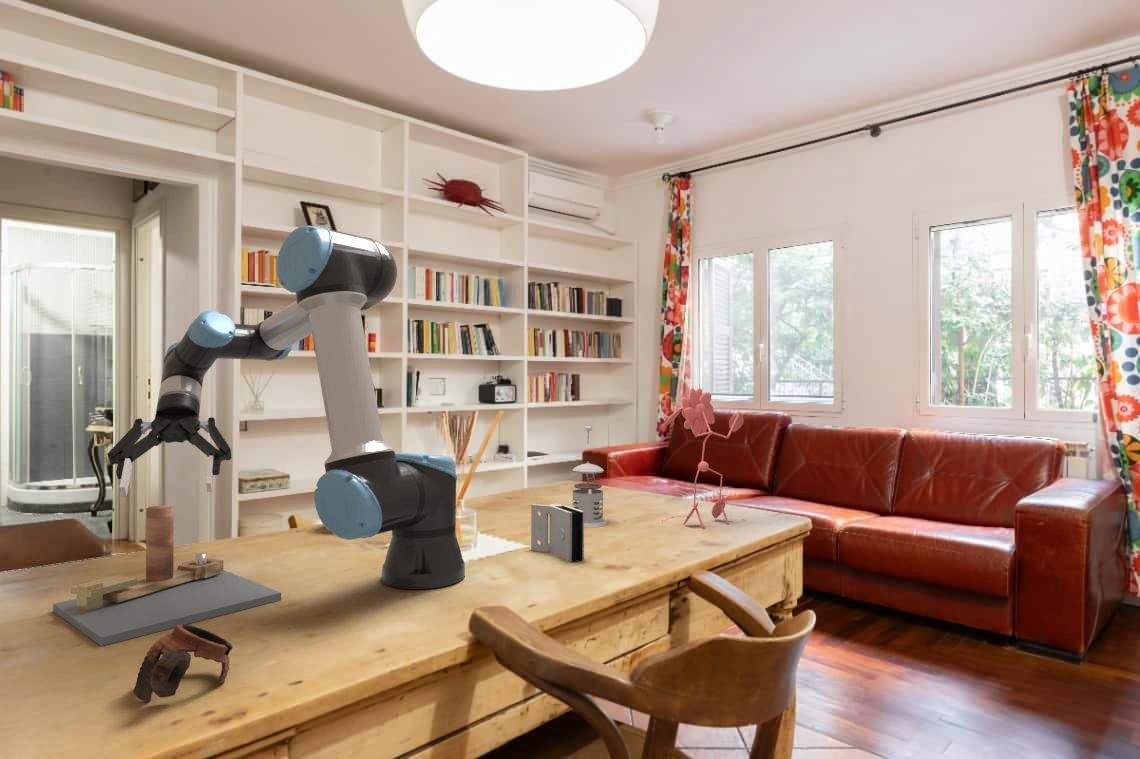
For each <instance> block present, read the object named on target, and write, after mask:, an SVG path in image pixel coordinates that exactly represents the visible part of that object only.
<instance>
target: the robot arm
mask: <svg viewBox="0 0 1140 759" xmlns="http://www.w3.org/2000/svg"><path fill="white" fill-rule="evenodd" d="M276 274H277V280H278V282H279V283H280V285H281V286H282V287H283V288H284V289H285V290H286V291H288V292H290V293H293V294H294V293H295V296H296V297H295V298H296V300H295V301H293V302H292V303H289V305H287V306H284V307H283V308H282V309H280V310H278V311H277V312H275V313H274V314H272V315H271V316H270V315H269V317H268V318H266V319H264V320H263V321H260V322H259V323H257V324H245V323H244V324H243V323H234V321H233V320H232V319H231V318H230V317H229V316H227V314H224V313H220V312H218V311H217V310H206V311H203V312H201V313H200V314H199V315H198V316H197V317H196V318H195V319H194V320H193V322H191V323H190V325H189V326H188V329H187V331H185V334H184V335H183V336H182V339H181V340H179V341H177V342H175V343H173V344H171V345H170V346H168V348H167V350H166V354H165V356H164V358H163V370H162V375H161V381H160V388H159V392H158V398H157V399H158V400H157V405H156V411H155V416H154V419H153V420H152V421H143V419H142V418H140V417H139V418H136V419H135V420H134V422H133V426H132V427H131V429H129V430H128V431H127V433H125V435H123V437H122V438H120V440H119V441H118V442H117V443H116V444H115V445H114V446H113V447H112V448H111V449H110V450H109V451H108V453H107V458H108V462H109V464H110V465H112V466H113V465H116V470H115V473H116V477H117V480H120V481H119V482H120V484H119V491H120V494H121V497H127V496H128V492H129V486H130V482H131V476H132V470H133V465H132V463H133V462H134V461H136V460H138V458H140V457H141V456H143V455H144V454H146V453H147V452H148V451H150V450H151V449H152V448H154V447H158V446H159V445H161V444H162V443H163V442H165V444H169V443H185V441H187V442H188V443H189V444H191V445H192V446H195V447H196V448H197V449H198V450H199V451H201V452H202V453H203V454H204V455H205V456H207V457H208V460H207V470H206V471H207V472H206V482H205V485H206V491H207V493H211V492H213V481H214V476H219V475H220V473H221V465H222V464H221V463H222V462H224V461H230V460H232V450H231V449H232V448H231V447H230V446H229V444H228V443H227V441H226V440H225V438H224V437H223V434H222V433H221V432H220V431H219V429H218V427H217V426H216V419H215V418H214V417H212V416H211V417H208V419H207V420H202V421H200V410H201V400H202V391H203V383H204V377H205V376H206V373H207V372H208V371H209V369H210V368H211V367H212V366H213V365H214V363H215V362H216V361H217V360H218V359H223V360H224V359H225V360H227V359H228V360H231V359H232V360H256V361H257V360H258V361H261V360H263V361H269V362H270V361H278V360H280V361H281V360H283V359H286V358H287V357H288V356H289V354H290V353H291V351H292V350H293V345H295V344H296V343H298V342H300V341H302V340H304V339H306V338H308V337H309V336H311V335H312V342H313V347H314V348H313V349H314V353H315V354H314V355H315V359H316V360H315V361H316V365H317V371H318V378H319V381H320V382H319V383H320V387H321V394H322V400H323V406H324V412H325V418H326V423H327V430H328V431H327V432H328V436H329V441H330V447H331V448H330V449H331V451H330V455H329V456H328V457H327V459H326V460H325V461H324V470H325V473H324V474H322V475H321V476H320V477H319V478H318V480H317V483H316V487H317V488H315V489H314V495H313V498H314V499H313V500H314V506H315V510H316V513H317V515H318V518H319V519H320V522H321V523H322V524H323V526H324V528H326V529H327V531H330V532H331V534H332V535H334V536H335V537H337V538H339V539H343V540H351V541H352V540H357V539H367V538H372V537H374V536H376V535H380V534H383V533H387V532H388V533H389V532H391V538H390V542H389V546H388V549H387V552H386V556H385V560H384V563H383V564H382V567H381V581H382V583H383V584H384V585H386V586H388V587H392V588H396V589H397V588H398V589H404V590H405V589H407V590H428V589H435V588H442V587H448V586H452V585H454V584H456V583H458V582H460V581H462V580H463V579H465V577H466V563H465V560H464V559H463V555H462V554H463V553H462V552H461V548H460V544H459V542H458V538H457V535H456V534H457V533H456V532H457V530H456V525H457V524H456V522H457V520H456V519H457V480H458V477H457V469H456V467H457V466H456V462H455V460H454V459H453V458H452V457H450V456H447V455H436V454H435V455H434V454H423V453H410V452H409V453H408V452H396V451H395V449H394V448H393V447H392V446H390V445H388V444H386V442H385V441H384V436H383V431H382V425H381V420H380V414H379V410H378V409H379V408H378V404H377V397H376V391H375V387H374V381H373V380H374V379H373V376H372V368H371V363H370V359H369V358H370V357H369V353H368V346H367V342H366V336H365V330H364V324H363V319H362V314H361V311H366V310H368V309H370V308H372V307H374V306H376V305H377V304H379V303H381V302H382V301H383V300H384V299H386V298H387V297H388V296H389V295H390V293H391V292H392V291H393V289H394V287H395V285H396V284H397V278H398V268H397V263H396V260H395V258H394V256H393V254H392V252H391V251H390V250H389V249H388V248H387V247H386V246H385V245H384V244H383V243H381V242H379V241H377V240H376V239H373V238H370V237H366V236H362V235H355V234H352V233H348V232H347V233H346V232H343V231H338V230H334V229H330V228H329V227H325V226H314V225H301V226H299V227H297V228H295V229H293V230H292V231H291V232H290V233H289V234H288V235H287V236H286V237H285V239H284V241H283V242H282V245H281V246H280V249H279V252H278V255H277V260H276ZM201 429H203V430H204V431H205V432H206V433H208V434H209V437H210V439H211V440H212V441H213V443H214V444H215V445H213V444H212V443H210V442H209V441H208V440H207V439H206V438H205V437H204V436H202V435H201V434H200V433H199V431H200V430H201ZM148 430H150V431H149V432H148V434H147V435H146V436H144V437H143V438H142V439H141V437H142V436H143V435H145V434H146V433H147V431H148Z"/></svg>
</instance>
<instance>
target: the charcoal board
mask: <svg viewBox="0 0 1140 759" xmlns="http://www.w3.org/2000/svg"><path fill="white" fill-rule="evenodd" d="M281 600H282V592H280V591H278V590H276V589H273V588H270V587H268V586H265V585H263V584H260V583H257V582H256V581H252V580H250V579H247V578H246V577H242V576H240V575H238V574H235V573H232V572H231V571H227V570H225V569H223V572H220V574H217V575H214V576H211V577H207V578H200V579H197V580H191V581H187V582H184V583H181V584H178V585H174V586H171V587H168V588H165V589H161V590H158V591H155V592H151V593H148V594H145V595H142V596H138V597H135V598H132V599H128V600H125V601H122V602H119V603H116V602H111V601H106V600H103V607H102V608H98V609H95V610H92V611H88V612H84V611H80V610H77V598H75V599H69V600H65V601H60V602H59V601H58V602H55V603H53V604H52V610H53V611H52V612H53V613H54V614H56V615H58V617H60V616H61V617H60V618H61V619H65V620H64V621H66V622H67V621H68V624H70V625H71V626H73V627H74V628H75V629H77V630H79V632H81V633H82V634H83V635H85V636H87V637H88V638H90V639H91V640H92V641H93V642H95V643H96V644H98V645H99V646H101V647H103V646H107V645H111V644H112V645H113V644H115V643H118V642H122V641H123V642H124V641H127V640H130V639H134V638H138V637H142V636H146V635H150V634H153V633H157V632H161V631H165V630H170V629H174V628H175V626H176V625H178V624H185V625H190V624H193V623H196V622H200V621H204V620H209V619H212V618H216V617H220V616H223V615H228V614H231V613H232V614H233V613H235V612H239V611H243V610H246V609H251V608H255V607H258V606H262V605H263V606H264V605H267V604H271V603H276V602H278V601H281Z"/></svg>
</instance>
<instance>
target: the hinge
mask: <svg viewBox="0 0 1140 759" xmlns="http://www.w3.org/2000/svg"><path fill="white" fill-rule="evenodd" d="M530 507H531V510H530V514H531V515H530V524H531V525H530V551H531V552H539V553H540V552H541V553H549V554H550V553H551V554H552V555H554V556H556V557H559V558H561V559H563V560H565V561H567V562H569V563H570V562H571V563H572V562H573V563H577V562H583V561H584V560H585V542H584V541H585V527H584V511H582V510H578V509H575V508H573V506H569V505H563V504H560V503H551V504H539V503H532V504H531V506H530ZM539 513H540V515H538V514H539ZM538 541H539V542H540V543H538Z"/></svg>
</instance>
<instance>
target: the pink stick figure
mask: <svg viewBox="0 0 1140 759" xmlns="http://www.w3.org/2000/svg"><path fill="white" fill-rule="evenodd" d="M711 400H712V393H710V392H704V393H703V390H702V388H701V387H699V388H697V389H695V388H694V387H691V388H690V389H689V392H688V397H682V400H681V402H682V406H681V407H679V408H678V409H676V410H675V411H674V412H673V413H672V414H671V415H669V417H668V418H667V419H666V420H665V422H663V424H662V426H660V430H662V429H664V428H666V427H667V426H668V425H669V424H671V423H672V422H673V421H674V420H675V419H676V418H677V417H678V415H679V414H680V413H681V415H682V417H683V418H684V419H685V421H684V424H683V428H684V429H686V430H691V432H692V435H694V438H697V437H701V436H705V435H707V436H706V437H705V438H704V439H703V442H702V452H701V461H700V462H699V463H698V464H697V469H698V470H697V472H696V475H695V479H694V487H693V488H694V490H693V492H694V493H693V494H694V496H693V504H692V508H691V509H690V512H689V513H688V514H687V515H686V518H685V520H684V522H683V525H684V526H685V525H686V524H687V522H688V521H689V520H690V518H691V517H693V516H694V515H693V514H694V513H695V512H696V516H697V518H698V521H699V523H700V526H701V529H705V526H704V522H703V521H702V519H701V515H700V512H699V510H698V506H699V503H698V502H696V497H697V496H696V495H697V494H696V492H697V479H698V476H699V473H700V472H702V473H705V472H708V471H710V472H712V473H714V474H717V475H719V476H720V484H719V497H718V500H717V501H716V502H715V503H714V505H713V507H712V509H711V515H712V516H713V518H714V519H717V518H718V517H719V516H721V514H723V517H724V519H725V520H724V521H725V524H726V525H729V524H730V522H729V520H728V517H727V514H726V512H725V509H726V508H725V507H726V502H725V501H726V500H724V499H722V488H723V487H722V486H723V474H721V473H719V472H717V471H715V470H713V469H711V468H710V465H709V463H708V462H707V461H705V460H704V457H705V450H706V449H705V448H706V442H707V441H708V439H709V438H710V436H712V435H715V436H718V437H721V438H724V439H727V440H728V439H729V438H730V437H731V434H732V432H733V433H736V432H737V431H738V430H739V429H740V428H741V427H742V426H743V425H744V423H745V422H744V421H745V419H744V415H743V414H742V413H741V412H740V411H739V412H736V413H734V414H733V415H732V416H731V417H730V419H729V422H728V425H729V426H728V427H729V431H728V434H727V435H724V434H720V433H718V432H714V431H713V430H712V429H711V427H710V425H714V424H715V422H716V421H715V420H716V419H715V415H714V413H713V411H714V406H713V405H712V404H711V403H710V402H711ZM707 430H708V431H707ZM679 517H680V518H681V517H682V518H683V517H684V515H679V516H678V515H677V518H679ZM673 518H674V519H675V518H676V516H672V517H668V518H666V519H663V521H661V522H662V524H663V523H664V522H665V521H667V520H669V519H673ZM741 520H742V521H745V522H746V521H747V520H746V519H743V518H742V519H741Z"/></svg>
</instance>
